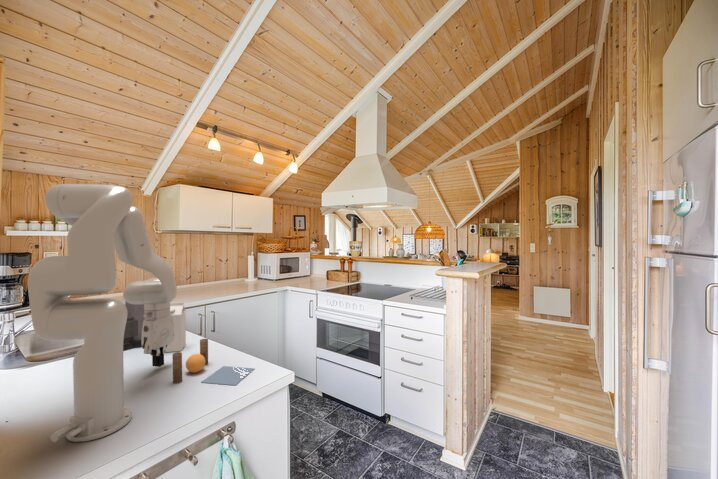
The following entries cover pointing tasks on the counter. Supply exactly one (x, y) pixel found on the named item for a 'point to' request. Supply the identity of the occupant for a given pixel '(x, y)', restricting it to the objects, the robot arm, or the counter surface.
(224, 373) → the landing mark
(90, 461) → the counter surface
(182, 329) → the milk carton
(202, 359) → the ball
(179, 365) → the inner post
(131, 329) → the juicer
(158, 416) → the counter surface
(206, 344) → the outer post
